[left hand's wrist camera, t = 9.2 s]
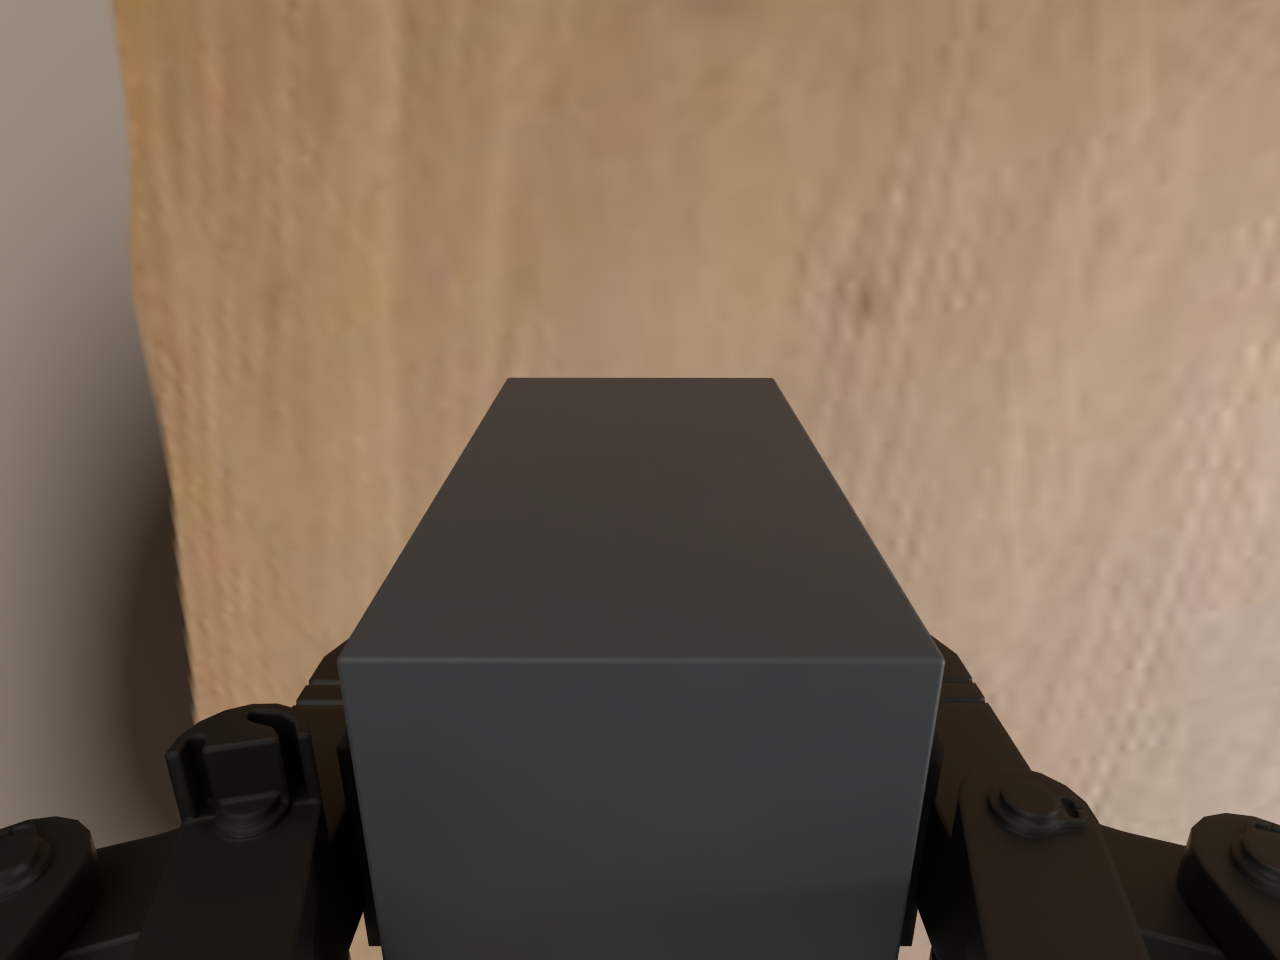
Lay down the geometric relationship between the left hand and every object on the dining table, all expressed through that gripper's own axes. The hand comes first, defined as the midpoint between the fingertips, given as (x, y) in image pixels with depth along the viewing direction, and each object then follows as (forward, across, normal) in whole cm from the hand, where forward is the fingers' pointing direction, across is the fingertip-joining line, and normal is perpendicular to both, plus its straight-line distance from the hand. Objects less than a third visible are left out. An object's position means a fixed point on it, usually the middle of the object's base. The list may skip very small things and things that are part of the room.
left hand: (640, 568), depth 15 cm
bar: (+1, 0, -10) cm, 10 cm away
